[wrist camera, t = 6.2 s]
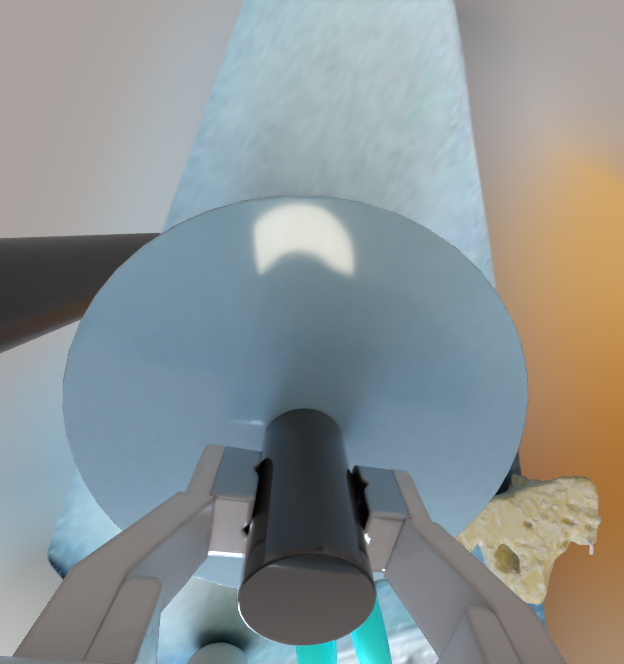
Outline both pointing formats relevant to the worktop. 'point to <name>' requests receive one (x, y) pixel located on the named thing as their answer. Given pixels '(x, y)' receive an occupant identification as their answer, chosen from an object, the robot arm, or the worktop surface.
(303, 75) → the worktop surface
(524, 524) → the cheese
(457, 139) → the worktop surface
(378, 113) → the worktop surface
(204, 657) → the grey bottle
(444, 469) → the pot lid
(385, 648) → the donuts
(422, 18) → the worktop surface
